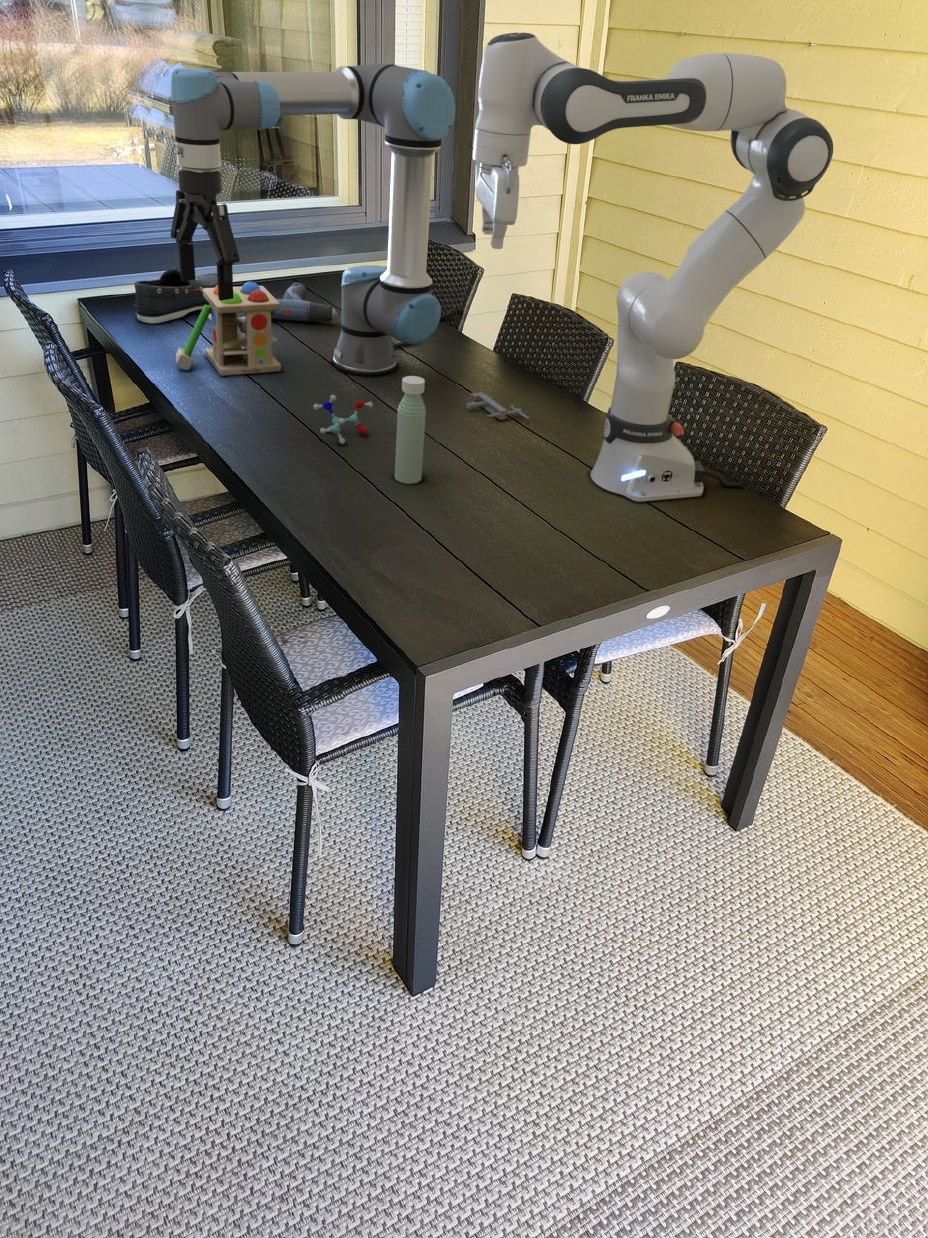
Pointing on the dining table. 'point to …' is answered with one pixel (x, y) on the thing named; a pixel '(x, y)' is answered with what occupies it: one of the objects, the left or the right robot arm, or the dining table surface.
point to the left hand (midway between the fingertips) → (206, 289)
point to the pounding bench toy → (229, 347)
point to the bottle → (410, 439)
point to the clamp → (485, 402)
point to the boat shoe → (171, 296)
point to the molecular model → (338, 421)
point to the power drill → (301, 307)
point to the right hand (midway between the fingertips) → (491, 240)
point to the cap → (413, 385)
